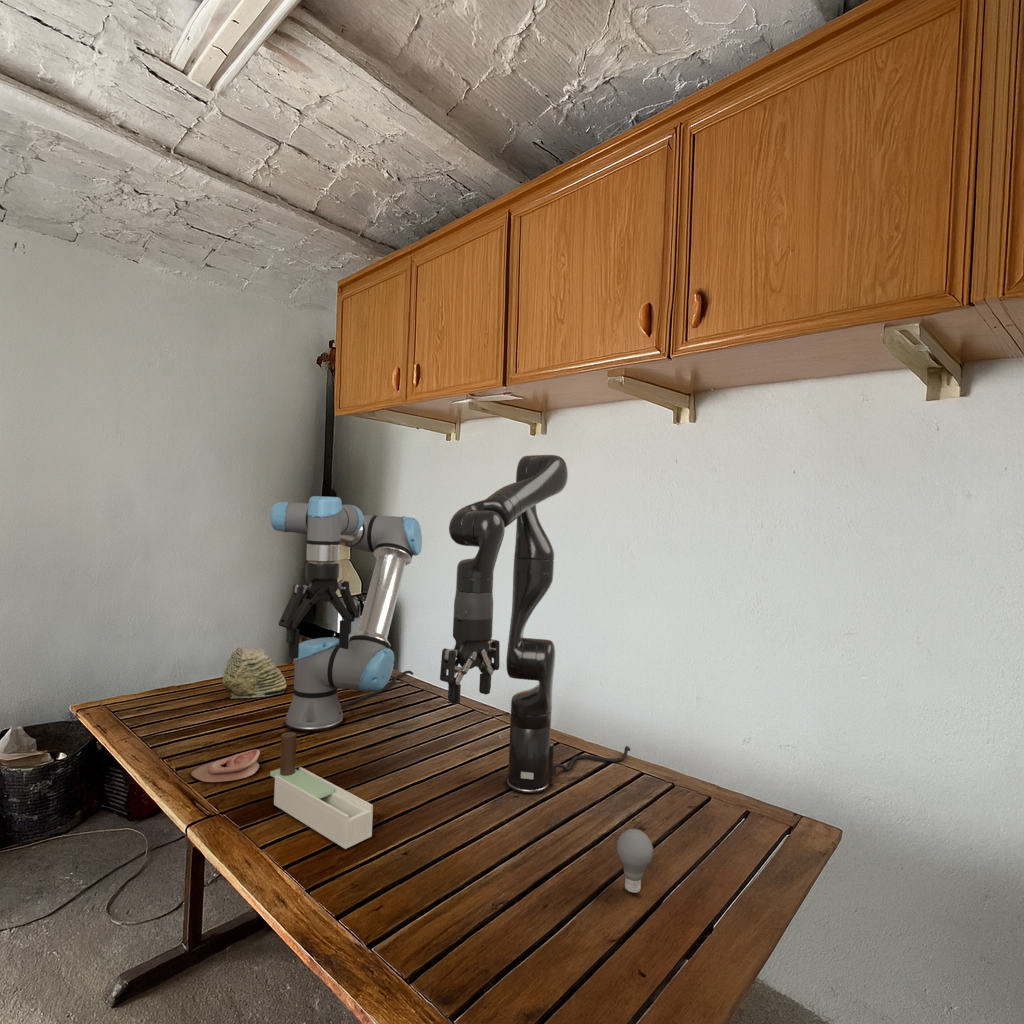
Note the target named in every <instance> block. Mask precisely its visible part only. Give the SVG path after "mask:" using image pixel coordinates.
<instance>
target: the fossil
mask: <svg viewBox="0 0 1024 1024" xmlns="http://www.w3.org/2000/svg"><path fill="white" fill-rule="evenodd" d="M222 676H223V677H222V685H223V687H224V688H225V690H226V691H228V693H229V698H230V699H250V698H264V697H271V696H275V695H281V694H284V693H285V691H286V689H287V687H288V686H287V680H286V678H285V676H284V674H283V673H282V672H281V669H279V668H278V667H277V665H276V663H275V662H274V660H273V659H272V658H271V657H270V656H269V655H268V654H267V653H266V652H265V650H264V649H263V648H260V647H258V648H251V647H247V646H246V647H245V646H238V647H237V648H236V649H235V650H233V651H232V653H231V656H230V657H229V659H228V660H227V663H226V666H225V668H224V671H223V675H222Z"/></svg>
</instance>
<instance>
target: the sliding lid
mask: <svg viewBox="0 0 1024 1024" xmlns="http://www.w3.org/2000/svg"><path fill="white" fill-rule="evenodd" d="M297 735H298V734H297V732H295V731H287V732H286V731H285V732H283V733H282V734H281V735H280V757H279V758H280V760H279V768H277V769H273V770H271V771H269V776H270V777H272V778H274V779H275V776H276V775H278V776H280V777H281V778H283V779H285V780H287V781H288V782H290V783H292V784H294V785H295V786H297V787H299V788H301V789H303V790H304V791H306V792H308V793H310V794H311V795H313V796H315V797H317V798H319V799H320V798H323V797H325V796H328V795H330V794H333V793H334V790H335V789H333V788H332V787H330V786H328V785H326V784H324V783H322V782H320V781H318V780H316V779H314V778H312V777H310V776H308V775H306V774H304V773H302V772H301V771H299V769H297V768H296V759H297V737H298V736H297Z"/></svg>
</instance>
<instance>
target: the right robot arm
mask: <svg viewBox="0 0 1024 1024" xmlns="http://www.w3.org/2000/svg"><path fill="white" fill-rule="evenodd" d="M515 473H516V474H515V482H512V483H510V484H507V485H504V486H502V487H501V488H498V489H497V490H496V491H495V492H493V493H492V494H490V495H489V496H488V497H487V498H485V499H482V500H478V501H476V502H472V503H470V504H468V505H465V506H463V507H461V508H460V509H458V510H457V511H456V512H455V513H454V514H453V516H452V517H451V519H450V521H449V525H448V533H449V536H450V538H451V539H452V541H453V542H454V543H455V544H457V545H459V546H464V547H475V548H478V551H477V553H476V555H475V556H474V557H471V558H465V559H461V560H460V561H459V562H458V563H457V566H456V584H455V585H456V586H455V595H454V601H453V618H452V637H453V639H454V641H455V645H454V648H450V649H449V648H443V649H442V651H441V660H440V671H439V672H440V673H439V680H440V681H441V682H445V683H447V685H448V686H447V687H448V689H447V700H448V702H449V704H453V705H459V704H460V703H461V687H462V685H461V682H462V680H463V678H464V676H465V675H467V674H468V672H469V670H472V669H474V668H478V670H479V672H480V673H479V686H478V687H479V688H478V690H479V691H478V692H479V693H480V694H483V695H489V694H490V693H491V690H492V689H491V688H492V675H493V674H494V672H495V671H498V670H500V648H501V647H500V641H499V640H498V639H493V621H494V596H493V595H494V594H493V589H494V572H495V566H496V563H497V560H498V555H499V553H500V549H501V546H502V544H503V540H504V537H505V533H506V532H505V529H506V528H507V527H508V526H510V525H511V524H512V523H513V522H514V521H515V520H516V524H515V525H516V527H515V528H516V529H515V543H514V545H515V546H514V555H513V557H514V558H513V572H512V599H511V600H512V603H511V605H512V606H511V615H510V623H509V632H508V642H507V649H506V650H507V651H506V660H505V661H506V662H505V666H506V672H507V675H508V677H509V678H510V679H515V680H525V681H537V682H538V684H536V685H535V686H534V687H532V688H529V689H525V690H522V691H517V692H516V693H515V694H513V695H512V697H511V700H510V702H511V703H510V720H509V721H510V723H509V743H508V744H509V745H508V747H509V748H508V766H507V767H508V771H507V781H506V782H507V783H506V784H507V786H508V787H509V788H510V789H511V790H513V791H515V792H518V793H523V794H538V793H542V792H545V791H546V790H547V789H548V788H549V787H553V777H554V776H556V775H557V768H559V769H562V770H564V771H566V772H568V771H571V770H572V767H573V765H574V763H575V761H577V760H579V759H580V760H581V759H589V760H596V761H600V762H607V763H617V762H622V761H624V760H625V759H626V757H627V756H628V752H631V751H632V750H631V747H629V746H627V745H626V746H625V747H624V750H623V754H622V756H620V757H617V758H615V757H614V758H613V757H611V758H610V757H604V756H598V755H591V754H579V755H576V756H573V757H572V758H571V759H570V761H569V764H568V766H566V765H565V764H562V763H554V748H555V747H554V746H555V745H554V743H553V742H551V734H552V733H551V731H552V712H553V711H552V709H553V687H554V685H553V684H554V674H555V665H556V645H555V643H554V642H553V641H552V640H551V639H545V638H544V639H543V638H535V637H534V638H532V637H524V633H525V632H524V631H525V629H526V626H527V623H528V622H529V619H530V617H532V616H531V615H532V614H533V612H534V610H535V609H536V608H537V606H538V605H539V604H540V602H541V601H542V600H543V598H544V597H545V595H546V594H547V592H548V591H549V589H550V588H551V586H552V584H553V580H554V571H555V570H554V569H555V551H554V547H553V545H552V543H551V541H550V538H549V537H548V535H547V533H546V531H545V529H544V528H543V526H542V524H541V521H540V519H539V516H538V511H537V505H538V504H540V503H542V502H543V501H546V500H548V499H549V498H552V497H554V496H556V495H558V494H560V493H562V492H563V490H564V489H565V488H566V486H567V483H568V479H569V471H568V466H567V463H566V460H565V459H564V458H563V457H561V456H560V455H555V454H536V455H533V454H532V455H524V456H522V457H521V458H520V459H519V461H518V463H517V466H516V472H515Z"/></svg>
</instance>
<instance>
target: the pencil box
mask: <svg viewBox="0 0 1024 1024" xmlns="http://www.w3.org/2000/svg"><path fill="white" fill-rule="evenodd" d="M298 770H299V771H301V772H302V773H304V774H306V775H308V776H310V777H312V778H314V779H316V780H318V781H320V782H322V783H324V784H326V785H328V786H330V787H332V788H333V789H335V790H334V793H333V794H330V795H328V796H325V797H323V798H320V799H319V798H317V797H315V796H313V795H311V794H310V793H308V792H306V791H304V790H303V789H301V788H299V787H297V786H295V785H294V784H292V783H290V782H288V781H287V780H285V779H283V778H281V777H280V776H278V775H276V776H275V778H274V788H273V789H274V790H273V791H274V792H273V805H274V806H275V807H277V808H278V809H280V810H281V811H283V812H285V813H287V814H288V815H289V816H291V817H293V818H295V819H296V820H298V821H299V822H301V823H303V824H304V825H306V826H307V827H309V828H310V829H312V830H314V831H315V832H317V833H318V834H320V835H322V836H323V837H324V838H326V839H327V840H330V841H331V842H333V843H334V844H336V845H338V846H339V847H341V848H342V849H344V850H347V849H348V848H351V847H353V846H355V845H357V844H359V843H362V842H363V841H365V840H367V839H370V838H372V837H373V817H374V816H373V815H374V805H373V804H372V803H371V802H368V801H367V800H365V799H362V798H360V797H359V796H357V795H355V794H353V793H351V792H349V791H347V790H345V789H344V788H342V787H340V786H338V785H336V784H334V783H332V782H330V781H329V780H327V779H325V778H323V777H320V776H319V775H317V774H315V773H313V772H311V771H309V770H307V769H305V768H304V767H301V766H299V767H298Z"/></svg>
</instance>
